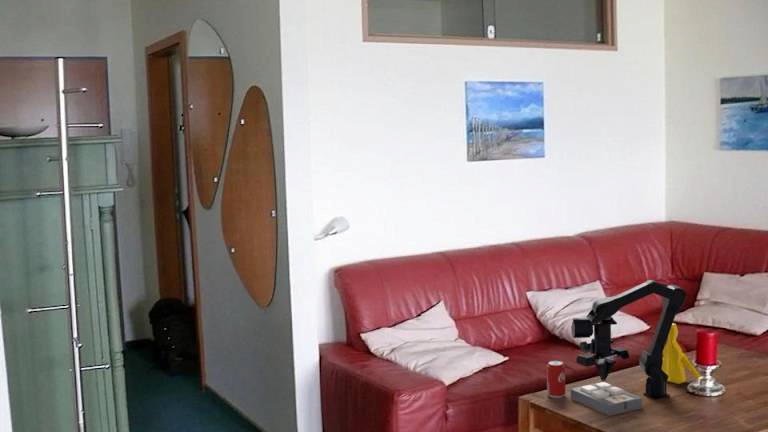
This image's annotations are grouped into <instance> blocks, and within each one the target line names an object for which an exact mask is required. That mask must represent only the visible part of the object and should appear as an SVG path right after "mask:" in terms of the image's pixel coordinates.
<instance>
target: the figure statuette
mask: <svg viewBox="0 0 768 432" xmlns="http://www.w3.org/2000/svg"><path fill="white" fill-rule="evenodd" d="M678 329H679V328H678V326H677V324H676V323H674V322H673V324H672V327H671V330H670V332H669V335H668V338H667V341H666V344H665V347H664V350H663V364H662V370H663V371H664V372H665V373H666V374H667V375H668V376H669V377H668V380H667V382H668V383H673V384H677V385H680V384H682V383H685V382H687V380H686V372H685V368H684V366H685V367H686V368H687V369H688V370H689V372H690V373H691V374H692V375H693V376H694V377H695V378H696V379H698V378H700V377H701V375H700V374H699V372H698V371H697V369H696V368H695V367H694V365H692V364H691V362H690V360H689V359H688V357H687V355H686V354H685V353H684V352H683V350H682V348H681V345H679V343H678V342H677V337H678V334H679V330H678Z"/></svg>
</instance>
